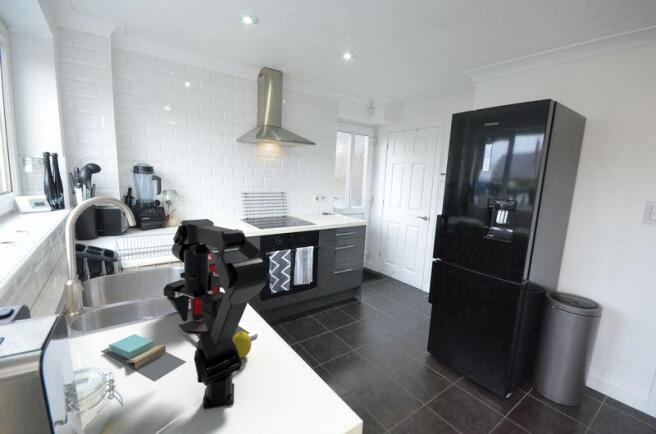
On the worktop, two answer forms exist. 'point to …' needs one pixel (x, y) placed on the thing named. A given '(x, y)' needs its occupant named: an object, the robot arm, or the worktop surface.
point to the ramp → (148, 356)
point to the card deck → (131, 346)
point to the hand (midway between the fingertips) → (197, 325)
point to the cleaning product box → (196, 303)
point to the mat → (151, 364)
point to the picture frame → (197, 327)
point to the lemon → (242, 343)
